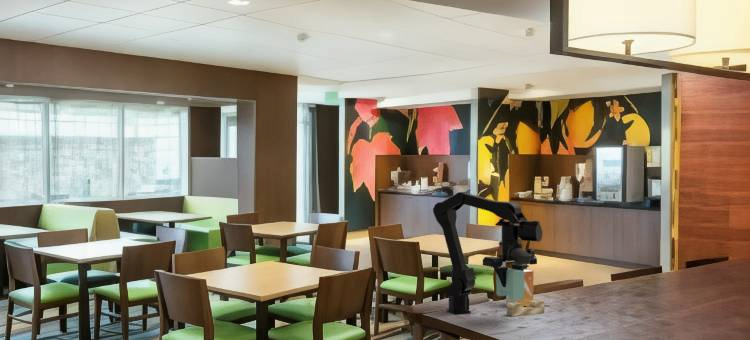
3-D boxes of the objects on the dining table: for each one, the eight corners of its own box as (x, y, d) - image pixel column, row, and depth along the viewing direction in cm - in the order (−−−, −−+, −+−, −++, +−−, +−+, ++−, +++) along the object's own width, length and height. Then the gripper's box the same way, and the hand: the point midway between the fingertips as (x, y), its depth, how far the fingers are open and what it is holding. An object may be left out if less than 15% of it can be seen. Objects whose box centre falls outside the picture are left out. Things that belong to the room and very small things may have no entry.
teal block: (513, 299, 212) (513, 272, 212) (496, 294, 221) (496, 268, 221) (524, 298, 214) (524, 271, 214) (507, 293, 223) (507, 267, 223)
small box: (518, 308, 236) (518, 272, 236) (505, 305, 241) (505, 270, 241) (533, 305, 240) (534, 270, 240) (521, 302, 246) (521, 268, 246)
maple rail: (512, 316, 223) (512, 304, 223) (506, 314, 225) (506, 303, 225) (544, 312, 229) (544, 301, 229) (538, 311, 231) (538, 299, 231)
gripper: (502, 243, 206) (502, 292, 206) (548, 240, 214) (548, 288, 214) (481, 240, 216) (481, 287, 216) (526, 237, 224) (526, 282, 224)
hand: (510, 286), depth 218 cm, fingers closed on teal block, 4 cm apart
